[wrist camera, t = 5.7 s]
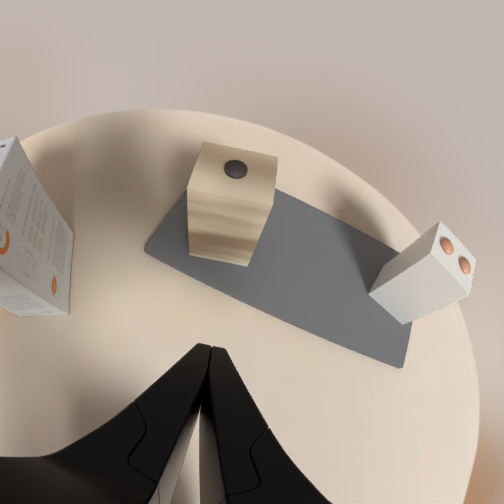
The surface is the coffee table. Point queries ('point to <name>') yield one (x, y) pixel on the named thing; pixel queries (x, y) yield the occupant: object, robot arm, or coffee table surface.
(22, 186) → the small box
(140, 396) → the robot arm
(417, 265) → the tile two
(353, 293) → the mat
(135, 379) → the coffee table surface
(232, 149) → the tile one
